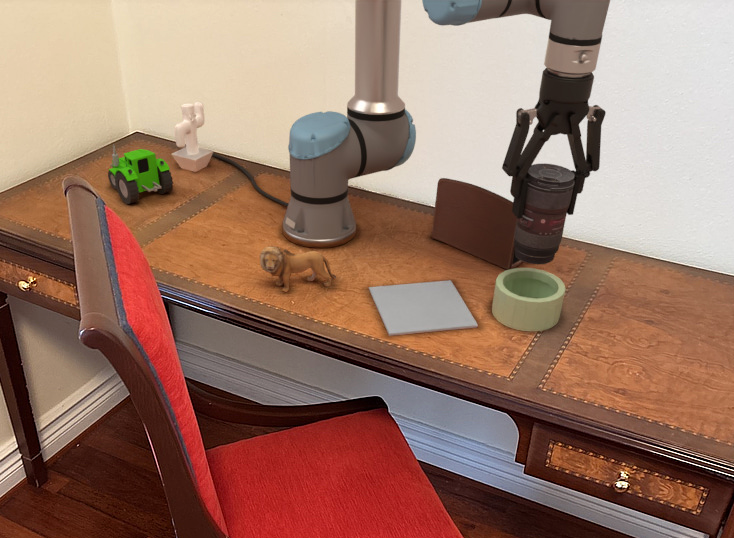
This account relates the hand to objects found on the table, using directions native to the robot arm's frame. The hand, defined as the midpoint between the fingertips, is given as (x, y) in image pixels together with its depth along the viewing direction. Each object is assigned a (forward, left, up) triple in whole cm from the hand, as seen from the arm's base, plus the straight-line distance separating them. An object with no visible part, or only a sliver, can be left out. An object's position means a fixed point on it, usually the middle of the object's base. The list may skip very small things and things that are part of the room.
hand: (542, 212), depth 132 cm
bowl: (0, 0, -19) cm, 19 cm away
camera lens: (0, 0, -8) cm, 8 cm away
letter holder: (-26, +1, -19) cm, 32 cm away
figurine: (-77, -55, -19) cm, 96 cm away
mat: (-5, -18, -19) cm, 27 cm away
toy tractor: (-64, -68, -19) cm, 95 cm away
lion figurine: (-16, -39, -19) cm, 46 cm away
